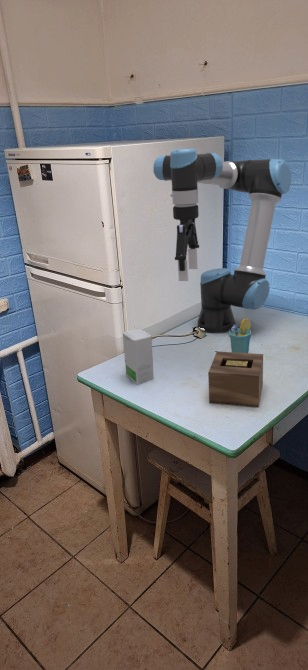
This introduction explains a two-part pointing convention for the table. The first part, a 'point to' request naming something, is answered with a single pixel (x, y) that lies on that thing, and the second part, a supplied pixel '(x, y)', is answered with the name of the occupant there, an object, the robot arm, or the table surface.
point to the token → (237, 364)
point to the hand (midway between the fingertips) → (188, 274)
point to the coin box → (236, 379)
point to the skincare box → (138, 355)
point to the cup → (240, 337)
